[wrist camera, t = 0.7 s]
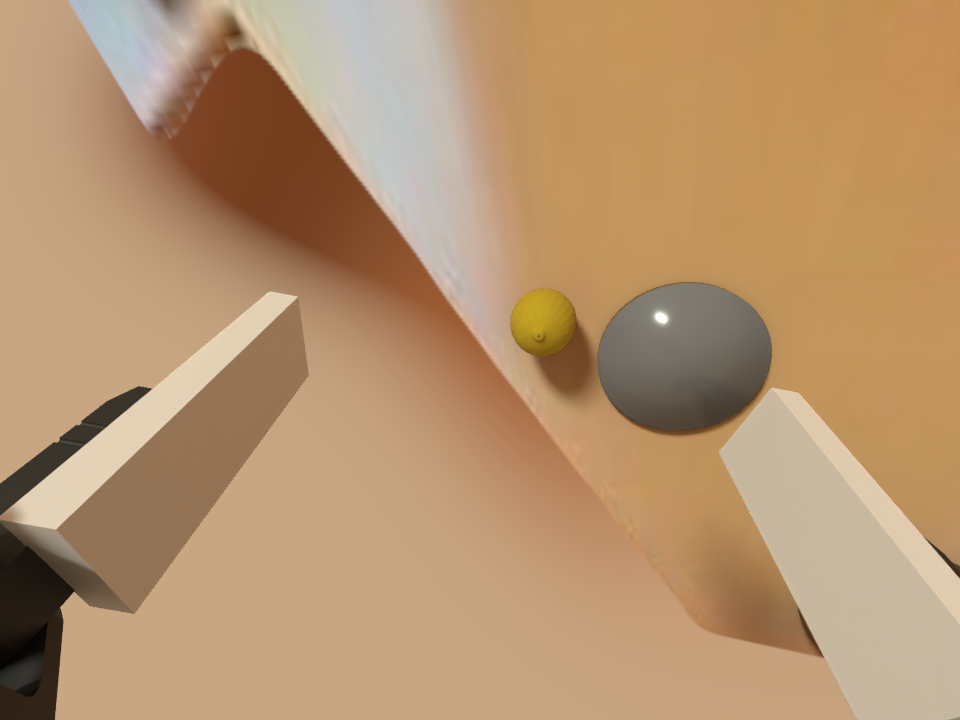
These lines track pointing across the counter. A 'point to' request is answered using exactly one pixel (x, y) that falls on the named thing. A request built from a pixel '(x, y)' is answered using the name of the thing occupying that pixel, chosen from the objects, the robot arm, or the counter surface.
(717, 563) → the counter surface
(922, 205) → the counter surface
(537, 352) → the lemon
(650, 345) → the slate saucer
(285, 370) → the robot arm
